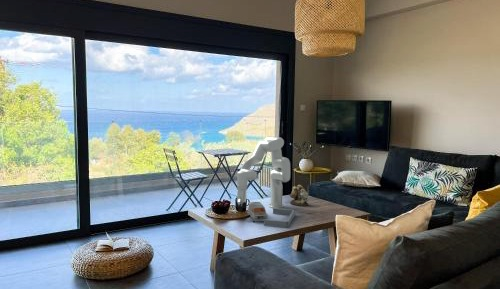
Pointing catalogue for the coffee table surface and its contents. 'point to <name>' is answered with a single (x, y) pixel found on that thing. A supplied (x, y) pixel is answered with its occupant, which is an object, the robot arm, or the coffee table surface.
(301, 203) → the owl figurine
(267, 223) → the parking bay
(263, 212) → the toy car
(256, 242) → the coffee table surface
